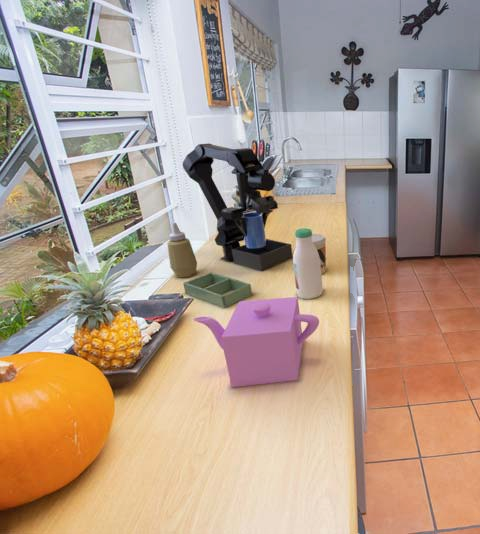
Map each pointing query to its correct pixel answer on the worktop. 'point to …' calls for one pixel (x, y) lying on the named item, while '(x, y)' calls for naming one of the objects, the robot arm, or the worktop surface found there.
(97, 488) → the worktop surface
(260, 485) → the worktop surface
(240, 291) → the divided tray
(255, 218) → the blue cup
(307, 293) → the milk bottle
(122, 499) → the worktop surface
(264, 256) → the black square tray
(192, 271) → the squeeze bottle
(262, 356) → the teapot
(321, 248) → the coffee cup
